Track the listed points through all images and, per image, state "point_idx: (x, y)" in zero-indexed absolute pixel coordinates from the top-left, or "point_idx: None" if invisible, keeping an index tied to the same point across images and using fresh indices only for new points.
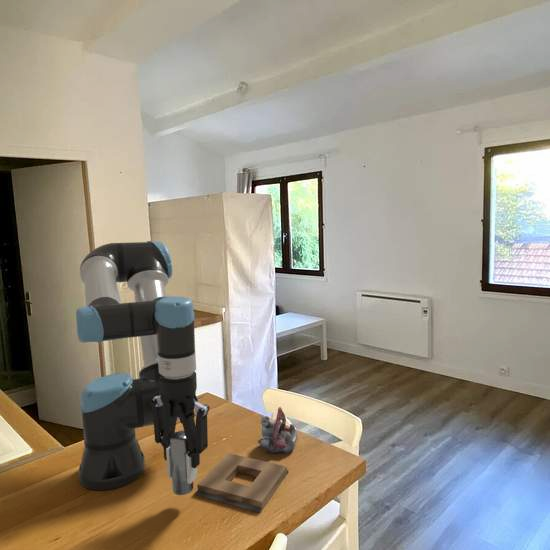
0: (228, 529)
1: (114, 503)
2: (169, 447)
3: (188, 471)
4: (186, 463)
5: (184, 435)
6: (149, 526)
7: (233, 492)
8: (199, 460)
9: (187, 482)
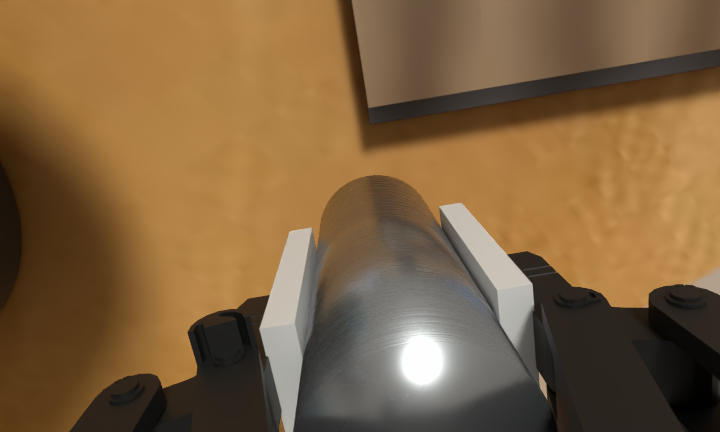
0: (645, 220)
1: (107, 353)
2: (291, 402)
3: None
4: None
5: (456, 427)
6: None
7: (591, 57)
8: (550, 269)
9: None
